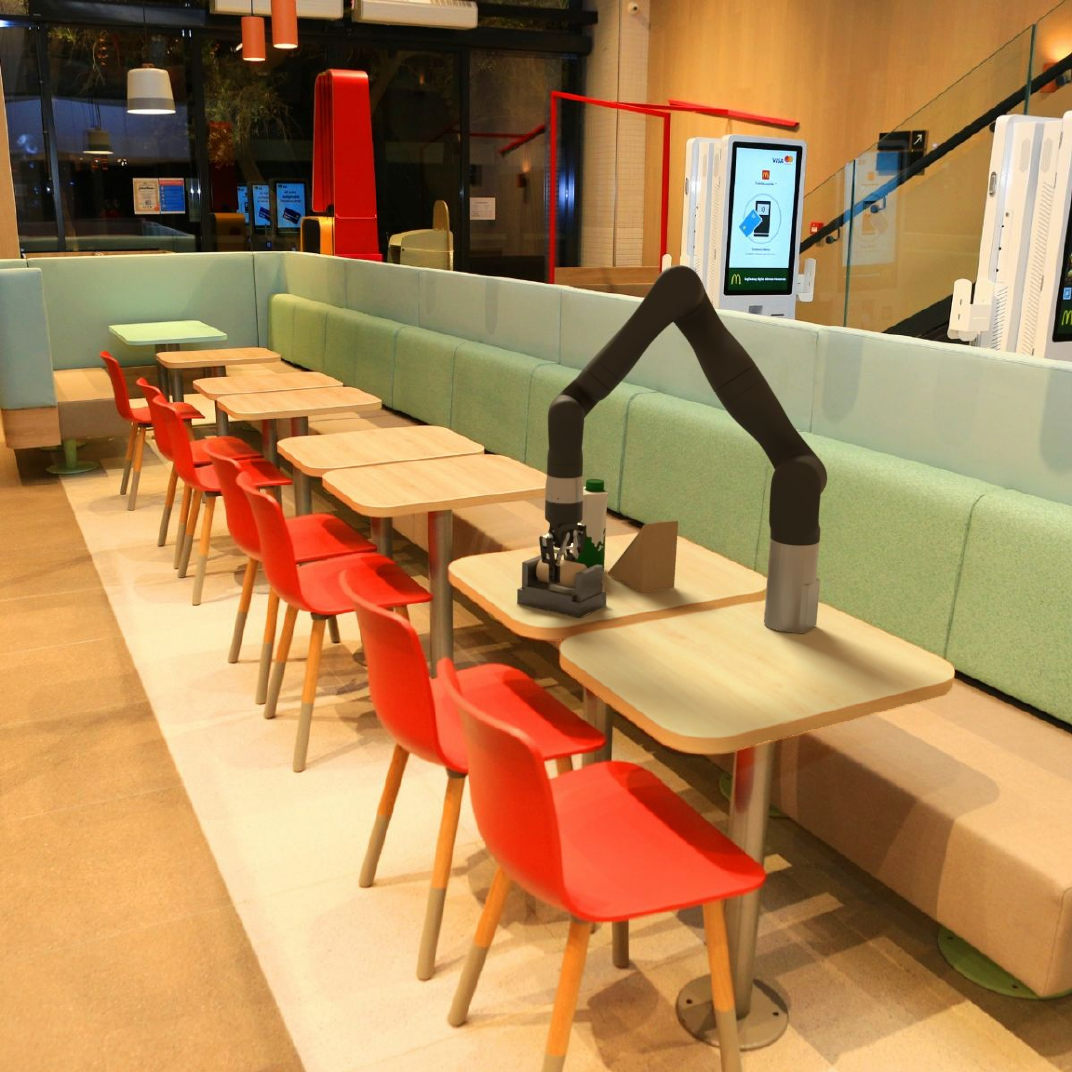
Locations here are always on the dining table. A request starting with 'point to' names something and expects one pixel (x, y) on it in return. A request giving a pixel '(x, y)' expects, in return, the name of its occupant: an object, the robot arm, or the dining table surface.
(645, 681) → the dining table surface
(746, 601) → the dining table surface
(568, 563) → the paper roll
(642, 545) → the sandwich container
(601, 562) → the milk carton
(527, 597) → the roll holder
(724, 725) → the dining table surface
